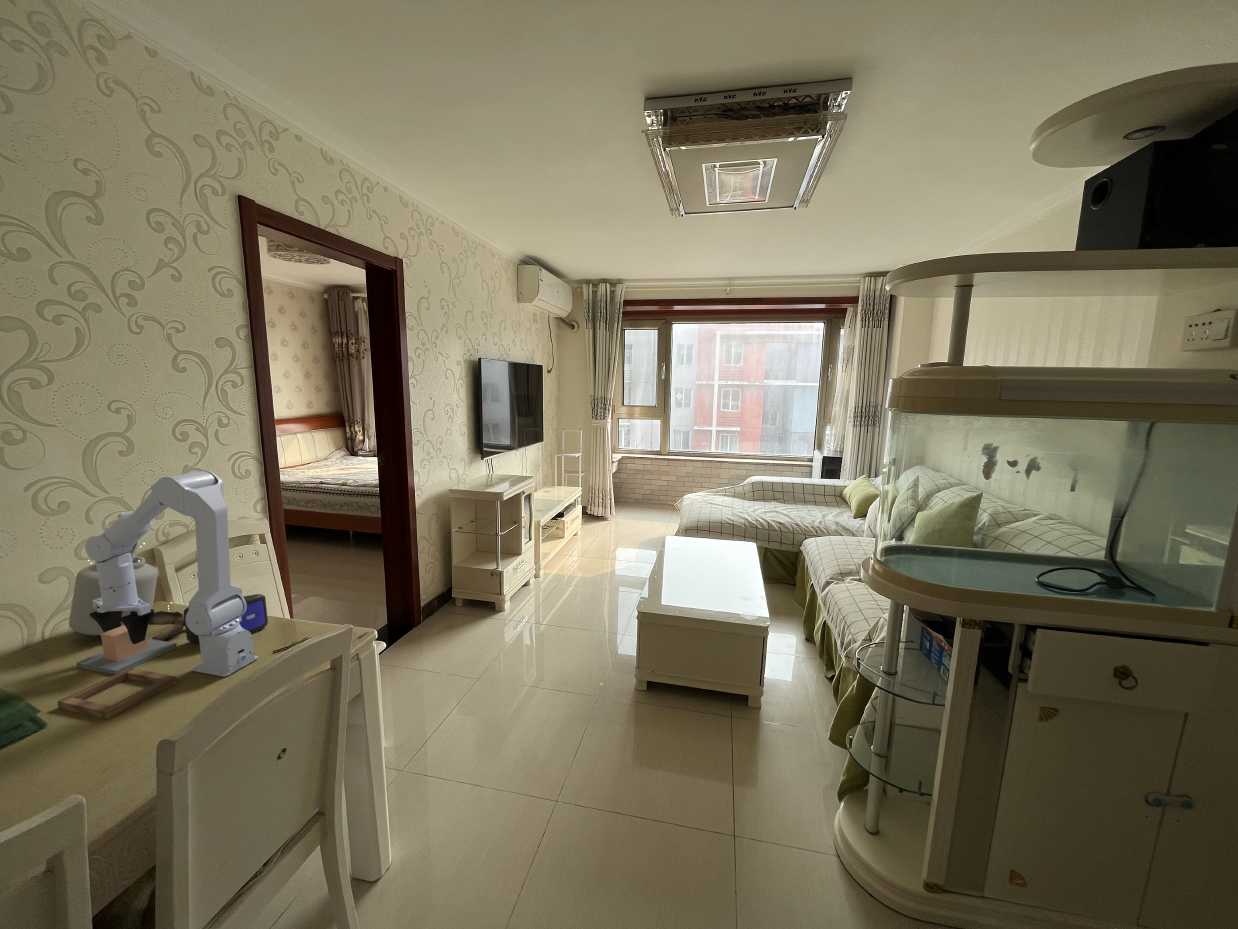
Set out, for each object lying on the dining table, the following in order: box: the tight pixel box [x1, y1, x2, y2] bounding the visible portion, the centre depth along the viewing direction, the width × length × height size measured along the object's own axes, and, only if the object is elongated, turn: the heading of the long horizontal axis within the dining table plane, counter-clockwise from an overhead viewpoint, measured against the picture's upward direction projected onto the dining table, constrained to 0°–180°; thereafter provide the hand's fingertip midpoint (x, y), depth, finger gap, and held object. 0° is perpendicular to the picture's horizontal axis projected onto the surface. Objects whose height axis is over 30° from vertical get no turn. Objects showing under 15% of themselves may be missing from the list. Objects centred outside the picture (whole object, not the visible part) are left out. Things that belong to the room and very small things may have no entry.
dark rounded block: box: [183, 593, 269, 644], centre depth 124 cm, size 16×5×9 cm, turn 123°
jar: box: [68, 542, 173, 636], centre depth 127 cm, size 19×15×25 cm
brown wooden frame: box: [57, 667, 178, 720], centre depth 101 cm, size 13×12×2 cm
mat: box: [76, 637, 178, 675], centre depth 115 cm, size 12×12×1 cm
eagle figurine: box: [148, 610, 185, 641], centre depth 126 cm, size 8×7×9 cm
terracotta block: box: [100, 625, 148, 661], centre depth 115 cm, size 4×6×6 cm, turn 165°
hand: (126, 639), depth 115 cm, fingers open, 7 cm apart
